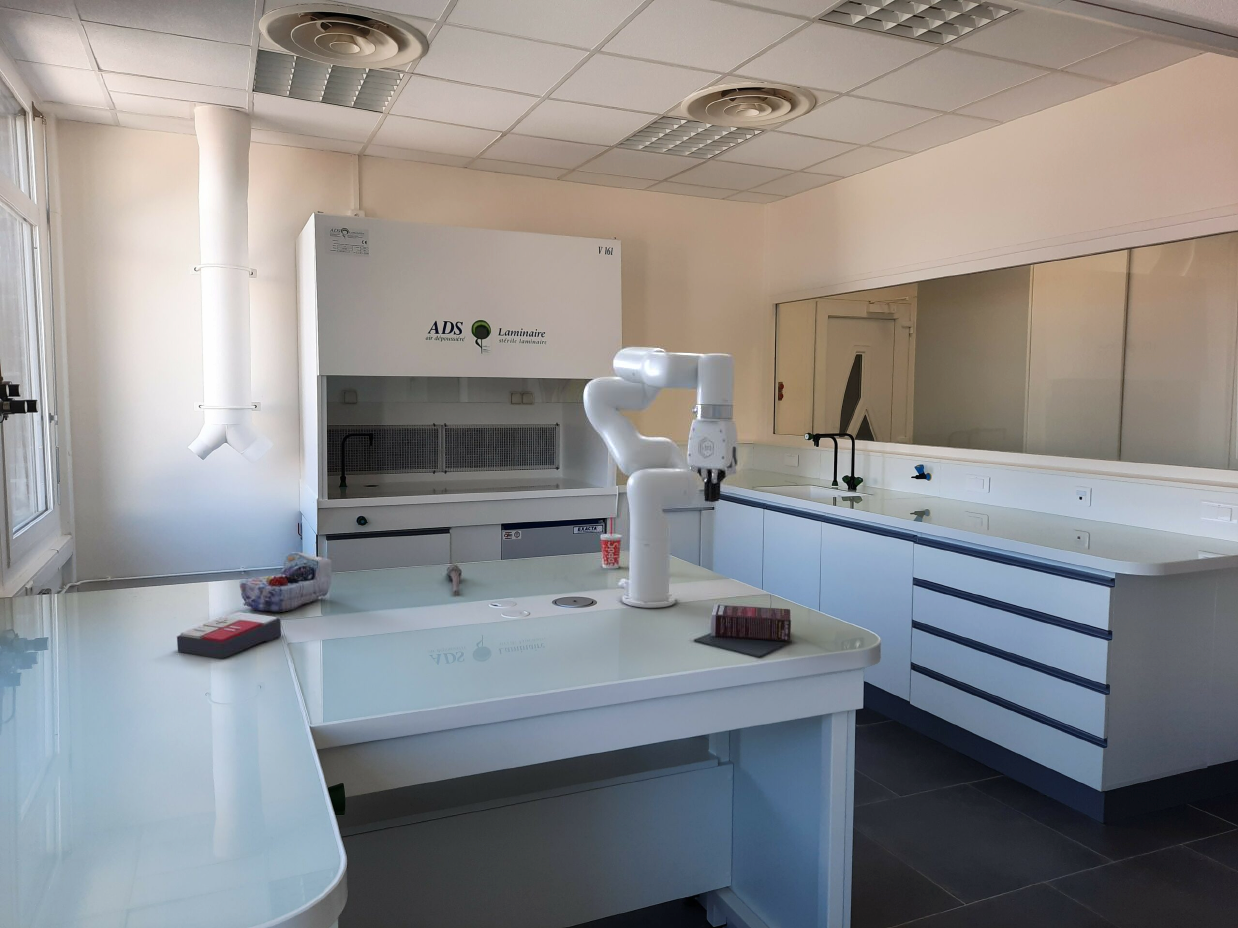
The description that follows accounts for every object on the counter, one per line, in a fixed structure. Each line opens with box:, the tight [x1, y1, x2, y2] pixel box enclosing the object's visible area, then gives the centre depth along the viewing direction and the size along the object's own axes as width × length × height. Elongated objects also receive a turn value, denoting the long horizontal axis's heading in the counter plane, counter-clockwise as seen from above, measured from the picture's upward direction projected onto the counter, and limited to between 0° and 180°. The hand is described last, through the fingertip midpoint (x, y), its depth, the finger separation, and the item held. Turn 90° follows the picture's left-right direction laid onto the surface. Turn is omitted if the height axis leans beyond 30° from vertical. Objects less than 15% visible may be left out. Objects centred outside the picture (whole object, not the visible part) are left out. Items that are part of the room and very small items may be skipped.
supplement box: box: [710, 604, 792, 641], centre depth 172 cm, size 9×5×16 cm
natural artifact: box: [445, 564, 463, 596], centre depth 211 cm, size 4×23×4 cm
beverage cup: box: [600, 517, 623, 570], centre depth 234 cm, size 6×6×14 cm
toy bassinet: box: [239, 551, 333, 613], centre depth 188 cm, size 13×11×20 cm
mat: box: [693, 632, 793, 658], centre depth 168 cm, size 15×13×1 cm
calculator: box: [176, 611, 282, 660], centre depth 160 cm, size 11×4×15 cm
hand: (711, 500), depth 175 cm, fingers closed
